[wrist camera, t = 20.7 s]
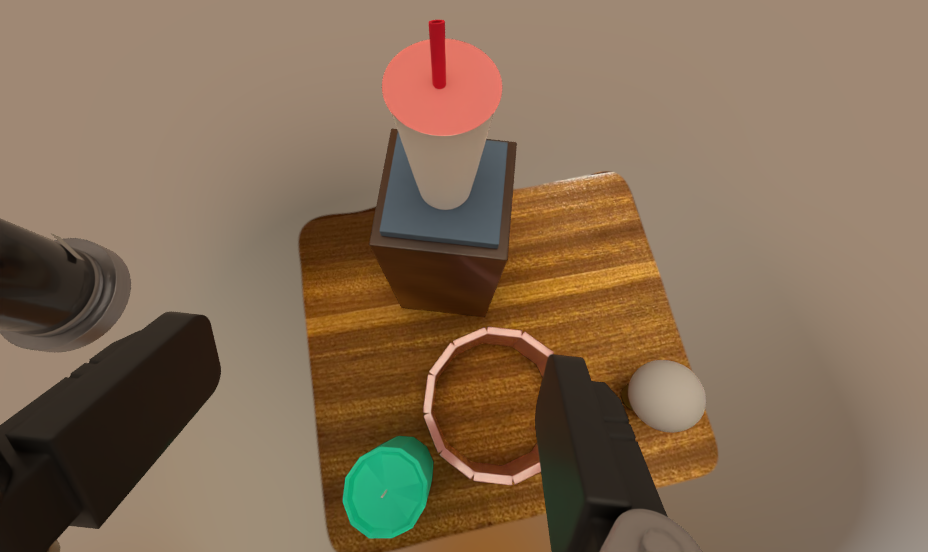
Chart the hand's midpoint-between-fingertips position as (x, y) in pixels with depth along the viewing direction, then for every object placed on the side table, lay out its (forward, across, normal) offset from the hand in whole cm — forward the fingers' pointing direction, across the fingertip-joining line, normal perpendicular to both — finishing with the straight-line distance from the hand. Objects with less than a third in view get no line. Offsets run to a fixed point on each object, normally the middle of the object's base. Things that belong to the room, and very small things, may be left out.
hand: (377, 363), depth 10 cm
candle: (+18, +2, +28) cm, 33 cm away
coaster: (+19, 0, +1) cm, 19 cm away
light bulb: (+24, -20, +22) cm, 38 cm away
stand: (+32, 0, +14) cm, 35 cm away
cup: (+19, 0, +1) cm, 19 cm away
